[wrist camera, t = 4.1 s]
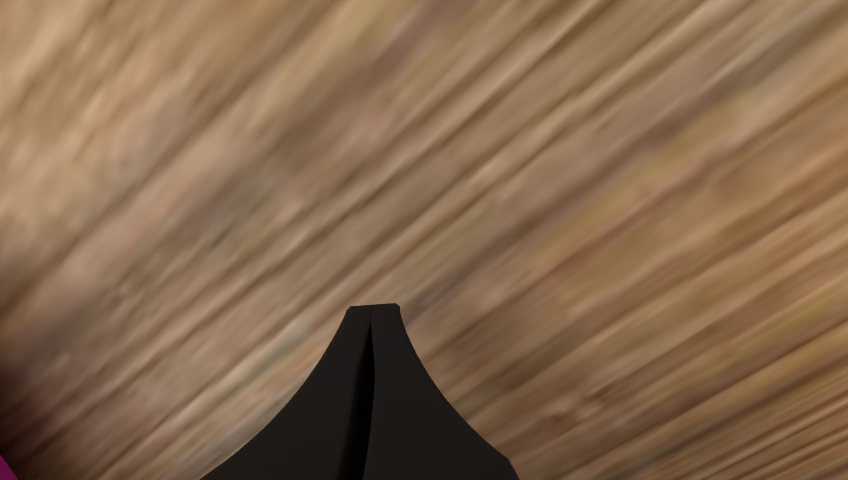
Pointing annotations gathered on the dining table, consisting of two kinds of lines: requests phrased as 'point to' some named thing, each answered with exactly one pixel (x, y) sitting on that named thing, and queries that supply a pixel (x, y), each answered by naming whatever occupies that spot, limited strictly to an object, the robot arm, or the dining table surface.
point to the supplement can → (6, 471)
